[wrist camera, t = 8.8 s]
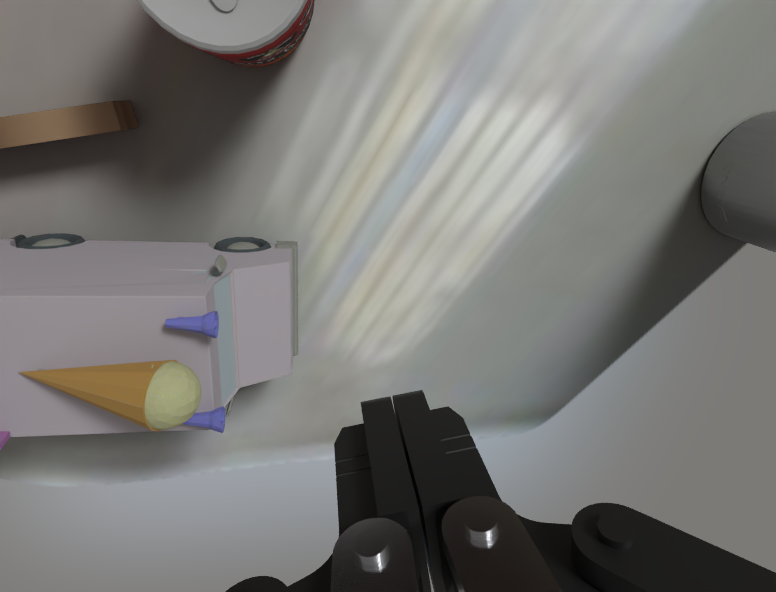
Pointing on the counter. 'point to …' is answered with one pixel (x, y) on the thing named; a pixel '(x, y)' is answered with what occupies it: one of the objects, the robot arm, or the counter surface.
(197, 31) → the canned food
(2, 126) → the wooden rails pair
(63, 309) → the toy vehicle
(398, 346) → the counter surface
